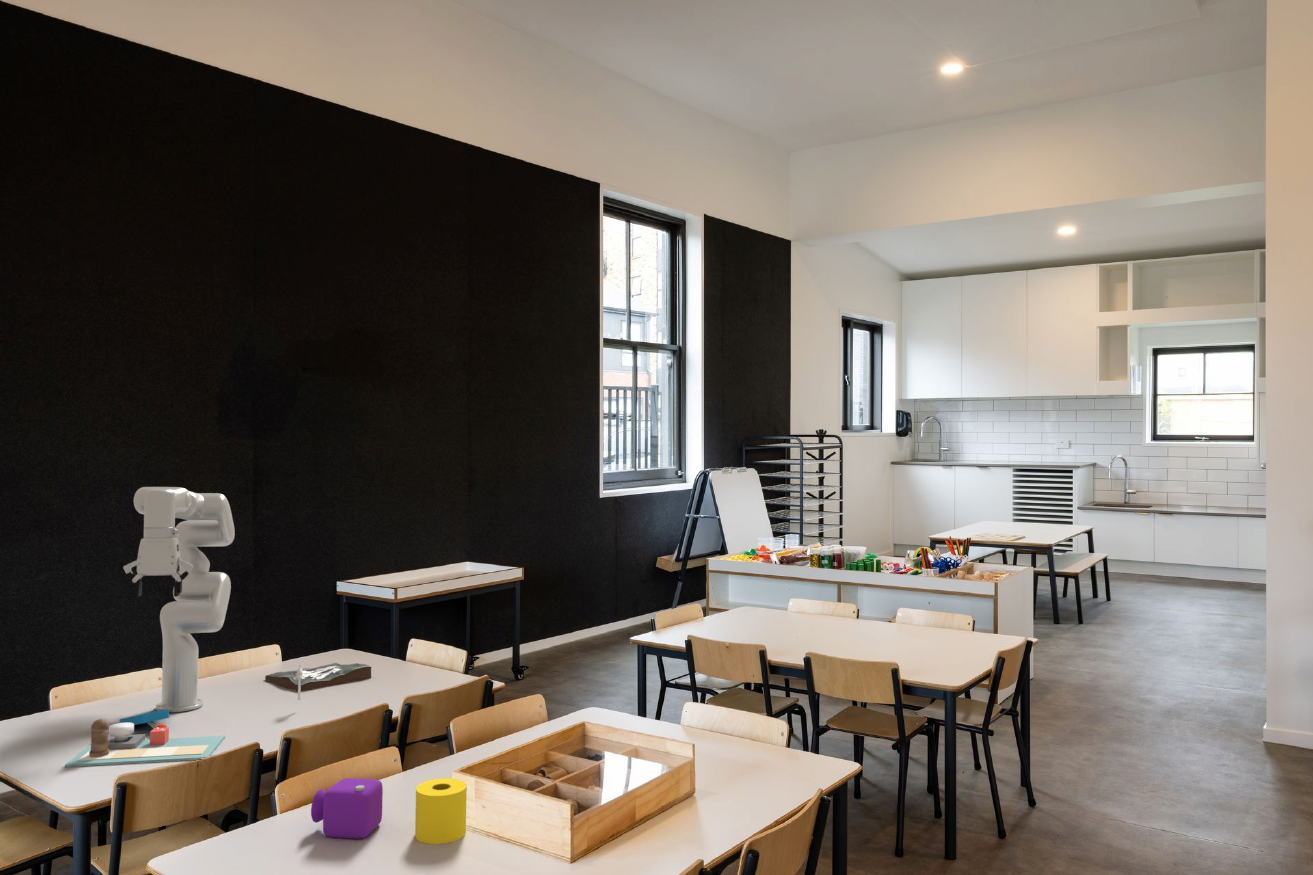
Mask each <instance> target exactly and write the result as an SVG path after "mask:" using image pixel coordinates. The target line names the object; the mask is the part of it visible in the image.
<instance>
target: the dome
mask: <svg viewBox="0 0 1313 875" xmlns="http://www.w3.org/2000/svg"><path fill="white" fill-rule="evenodd" d="M134 733H135V725H134V723H120V722H119V723H113V724H111V725H109V728H108V736H112V737H115V741H123V740H127V739H128V735H133V734H134Z"/></svg>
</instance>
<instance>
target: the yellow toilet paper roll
mask: <svg viewBox="0 0 1313 875" xmlns="http://www.w3.org/2000/svg"><path fill="white" fill-rule="evenodd" d="M467 791H468V790H467V783H466V782H465V781H463V780H461V779H456V778H452V777H451V778H450V777H449V778H448V777H446V778H445V777H444V778H443V777H442V778H433V779H430V780H426V781H423V782H421V783H419V784H417V786H416V787H415V821H414V822H415V823H414V824H415V826H414V827H415V830H414V832H415V833H414V834H415V835H414V837H415V839H416V841H419V842H421V843H422V844H423V843H425V844H431V845H442V844H449V843H453V842H455V841H458V840H460V839H462V838H463V837H464V836H465V835H466V833H467Z"/></svg>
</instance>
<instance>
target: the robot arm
mask: <svg viewBox="0 0 1313 875" xmlns="http://www.w3.org/2000/svg"><path fill="white" fill-rule="evenodd" d="M133 505H134V508H135V510H136V512H138V514H141V515H143V538H141V539H140V543H139V547H138V551H137V559H136V560H134V561H131V562H130V563H127V564H126V565H123V566H122V568H123V570H124V572H125V574H126V576H127V577H128V578H129V579H130V580H131V582H132V583H133V594H135V598H140V597H141V596H142V595H143V581H142V578H143V577H145V576H171V577H172V578H173V579H175V582H174V583H173V590H172V595H173V599H174V600H175V601H170V602H167V603H166V604H165V605H164V606H163V607H162V608H161V610H160V612H159V613H160V614H159V622H160V623H159V624H160V628H161V634H162V635H161V636H162V664H161V665H162V666H161V667H162V671H161V672H162V673H161V679H162V680H161V701H160V702H158V703H157V704H156V705H155V710H156V711H160V710H165V709H168V711H169V713H181V712H188V711H193V710H196V709H199V708H201V707H202V706H203V705H204V701H203V700H202V699H200V698H198V690H199V689H198V684H199V645H198V643H197V641H196V639H195V638H194V637H193V635H192V634H201V633H202V634H203V633H216V632H218V631H220V630H221V629H222V628H223V626H224V623H225V620H226V615H227V610H228V605H229V601H230V595H231V589H232V586H231V584H232V582H231V578H230V576H229V575H228V574H227V573H225V572H221V571H210V566H211V563H210V560H209V559H208V558H207V556H206V554H205V553H204V552H202V551H201V550H200V549H199V548H198V547H200V548H201V547H228V546H229V545H232V543H233V542H234V540H235V535H236V534H235V531H236V530H235V525H234V520H233V514H232V510H231V506H230V503H229V501H228V499H227V497H226V496H225V494H222V493H218V492H216V493H215V492H214V493H213V492H209V493H208V492H205V493H204V492H202V493H198V492H194V491H190V490H188V489H187V488H184V487H179V486H178V487H177V486H142V487H140V488H138V489H137V490H136V492H135V493H134V496H133ZM176 519H181V520H183V521H181V522H179V523H178V524H177V525H176ZM175 525H176V526H175ZM134 567H136V573H137V574H136V573H134V572H133V571H132V570H133V569H132V568H134Z"/></svg>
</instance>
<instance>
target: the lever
mask: <svg viewBox="0 0 1313 875" xmlns="http://www.w3.org/2000/svg"><path fill="white" fill-rule="evenodd" d="M169 718H170V712H169V711H168V709H165V710H160V711H157V710H156V711H150V712H146V713H140V714H136V715H132V716H128V717H124V718H119V723H134V726H136V725H142V724H147V725H149V726H150V727H151V728H153V729H154V728H157V727H158V728H166V727H168V726H167V725H166V724H164V723H159V724H156V723H155V722H156V721H160V720H164V719H169Z"/></svg>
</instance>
